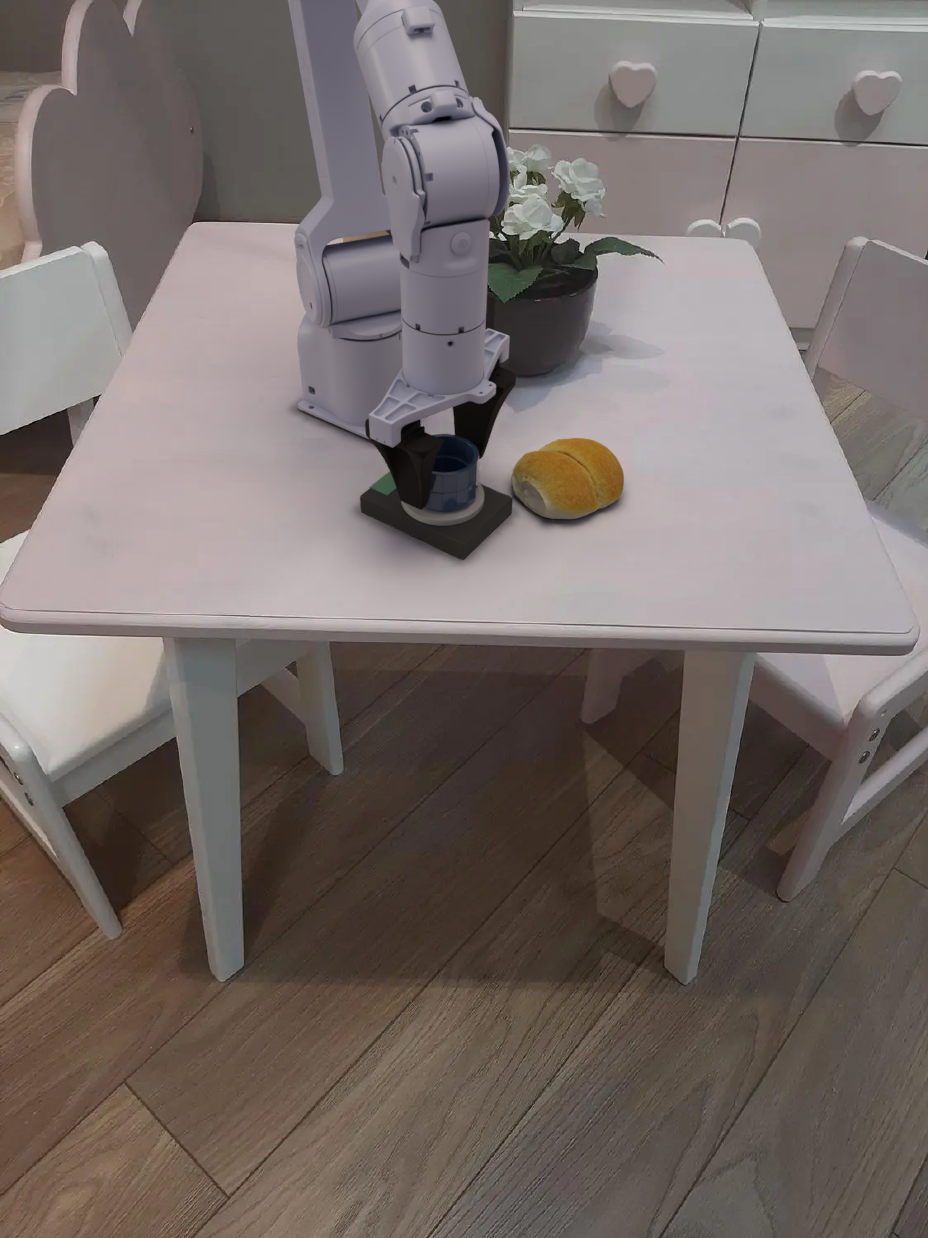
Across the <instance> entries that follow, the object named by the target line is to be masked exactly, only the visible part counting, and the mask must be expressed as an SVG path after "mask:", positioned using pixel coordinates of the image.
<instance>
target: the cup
mask: <svg viewBox="0 0 928 1238" xmlns="http://www.w3.org/2000/svg"><path fill="white" fill-rule="evenodd" d="M432 435H433V436H435V437H437V438H440V439H442V440H444V443H443V444H442V446H441V448H440V449H439V451H438V454H437V456H436V459H435V462H434V465H433V470H432V475H431V486H430V496H429V500H428V503H427V505H426V506H425V508H427V509H429V510H433V511H438V512H450V511H455V510H458V509H461V508H463V507H465V506H467V505H468V504H469V503H471V502H472V501H473V500H474V499H475V497H476V495H477V492H478V482H479V476H480V475H479V473H480V460H479V452H478V449H477V447H476V446H475V445H474V444H473V443H472V442H471V441H470V440H468V439H465V438H463V437H461V436H458V435H455V434H450V433H437V434H432Z"/></svg>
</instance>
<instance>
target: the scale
mask: <svg viewBox="0 0 928 1238" xmlns="http://www.w3.org/2000/svg"><path fill="white" fill-rule="evenodd" d="M513 500H514V498H513V497H512V496H510V495H507V494H505V493H502V492H500V491H498V490H496V489H493V488H491V487H489V486H486V485H484V484H481V482H480V481H478V492H477V495H476V497H475V499H474V500H473V501H472V502H471V503H469V504H468V505H467V506H465V507H463V508H461V509H458V510H455V511H450V512H438V511H433V510H429V509H427V508H425V507H424V508H423V509H421V510H420V509H417V508H415V507H413V506H411V505H409V504H407V503H404V502H402V501H401V500H400V497H399V494H398V491H397V488H396V485H395V483H394V480H393V477H392V475H391V472H390V470H389V471H388V472H387V473H386V474H384V475H383V476H382V477H380V478H379V479H378V480H376V481H375V482H374V483H372V485H370V486H369V488H368V489H367V490H365V492H363V493H362V494H360V495H359V502H360V503H359V504H360V512H361V513H364V514H365V515H367V516H370V517H372V518H373V519H376V520H379V521H380V522H382V523H385V524H386V525H389V526H391V527H392V528H395V529H397V530H399V531H401V532H403V533H405V534H407V535H410V536H411V537H414V538H416V539H418V540H420V541H422V542H424V543H427V544H428V545H431V546H432V547H435V548H437V549H440V550H441V551H443V552H446V553H448V554H449V555H451V556H454V557H456V558H458V559H461V560H465V558H466V557H468V556H469V555H470V554H471V553H472V552H473V551H474V550H475V549H476V548H477V547H478V546H479V545H480V544H481V543H482V542H483V541H484V540H485V539H487V538H488V536H489V535H490V534H491V533H493V532H494V531H495V530H496V528H498V527H499V526H500V525H501V524H502V523H503V522H504V521H505V520H506V519H507V518H508V517H509V516H511V515H512V513H513V502H514V501H513Z"/></svg>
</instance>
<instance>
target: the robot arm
mask: <svg viewBox="0 0 928 1238" xmlns="http://www.w3.org/2000/svg"><path fill="white" fill-rule="evenodd" d="M287 4H288V9H289V16H290V20H291V26H292V27H291V28H292V32H293V33H292V34H293V38H294V43H295V50H296V56H297V61H298V67H299V73H300V78H301V84H302V89H303V96H304V102H305V108H306V113H307V119H308V124H309V125H308V126H309V131H310V137H311V142H312V149H313V154H314V158H315V159H314V160H315V166H316V171H317V178H318V183H319V189H320V194H321V197H320V199H319V200H318V201H317V203H316V204H315V205H314V206H313V207H312V209H311V210H310V211H309V212H308V213H307V214H306V216H305V217H304V218H303V219H302V220H301V221H300V222H299V224H298V225H297V227H296V229H295V231H294V237H293V242H294V250H295V255H296V256H295V257H296V263H295V264H296V265H295V266H296V267H295V269H296V280H297V286H298V287H297V288H298V291H299V295H300V299H301V302H302V306H303V308H304V311H305V314H304V316H303V318H302V319H301V322H300V324H299V328H298V332H297V338H296V339H297V340H296V345H297V354H298V363H299V371H300V380H301V381H300V382H301V389H302V400H300V401H298V403H297V408H298V410H300V411H303V412H305V413H307V414H310V415H311V416H314V417H316V418H319V419H321V420H323V421H325V422H328V423H330V424H332V425H335V426H337V427H340V428H342V429H344V430H346V431H347V432H348V431H349V432H351V433H353V434H355V435H358V436H360V437H362V438H365V439H366V440H368V441H370V442H371V443H372V444H373V446H374V447H375V449H376V450H377V451H378V452H379V454H380V455H381V457H382V458H383V460H384V462H385V464H386V466H387V468H388V470H389V471H390V472H391V475H392V477H393V480H394V483H395V485H396V488H397V491H398V494H399V497H400V500H401V501H402V502H404V503H407V504H409V505H411V506H413V507H415V508H417V509H420V510H421V509H423V508H424V507H425V506H426V505H427V503H428V500H429V496H430V486H431V475H432V470H433V465H434V462H435V459H436V456H437V454H438V451H439V449H440V448H441V446H442V444H443V443H444V440H442V439H440V438H437V437H435V436H433V435H434V434H430V433H428V432H426V427H425V425H421V423H422V422H421V420H422V419H425V418H428V417H430V416H433V415H435V414H438V413H440V412H444V411H446V410H448V409H449V410H450V409H452V411H453V412H452V413H453V414H452V415H453V427H454V428H453V432H454V435H458V436H461V437H463V438H465V439H468V440H470V441H471V442H472V443H473V444H474V445H475V446H476V447H477V449H478V452H479V461H481V459H483V457H484V455H485V453H486V449H487V447H488V443H489V441H490V438H491V434H492V431H493V428H494V426H495V423H496V420H497V417H498V415H499V413H500V411H501V409H502V407H503V405H504V402H505V401H506V400H507V398H508V396H509V395H510V394H511V392H512V391H513V389H514V388H515V386H516V384H517V383H516V382H517V375H516V373H514V371H513V370H510V369H507V368H505V367H503V366H500V364H504V363H505V362H506V361H507V360H508V359H509V358H510V357H509V356H510V340H511V336H510V335H508V334H506V333H503V332H500V331H497V330H495V329H492V328H489V327H487V326H486V325H487V305H488V304H487V303H488V278H489V256H490V231H491V221H490V220H489V219H488V218H490V217H491V216H492V217H496V216H499V215H500V214H501V213H502V212H503V211H504V210H505V208H506V206H507V202H508V200H509V195H510V188H511V186H510V185H511V170H510V169H511V167H510V159H509V158H510V157H509V153H508V149H507V144H506V140H505V137H504V133H503V129H502V127H501V125H500V123H499V121H498V120H497V118H496V117H495V116H494V115H493V114H492V113H490V111H487V109H486V107H485V106H484V103H483V100H482V99H480V98H479V97H478V96H476V97H473V96H471V95H470V93H469V90H468V87H467V84H466V80H465V78H464V75H463V71H462V69H461V66H460V62H459V60H458V56H457V54H456V50H455V47H454V44H453V41H452V38H451V35H450V32H449V29H448V25H447V23H446V19H445V16H444V14H443V10H442V9H441V7H440V6H439V5H438V3H437V2H436V1H434V0H287ZM356 5H357V7H358V9H359V11H360V13H361V17H360V18H359V21H358V13H357V7H356ZM370 102H371V103H370ZM371 104H372V105H371ZM371 106H372V108H373V112H374V114H375V117H376V121H377V123H378V126H379V129H380V132H381V135H382V139H383V142H384V145H383V150H382V159H381V162H380V165H381V173H380V167H379V166H380V165H379V158H378V152H377V146H376V145H377V143H376V138H375V131H374V124H373V117H372V111H371ZM381 177H382V179H381ZM382 184H383V187H382ZM383 190H384V192H383ZM380 231H386V232H387V233H388V234H389V235H384V236H378V237H372V238H366V239H360V240H354V241H348V242H343V241H342V242H336V243H332V244H330V243H331V242H333V241H336V240H338V239H343V238H344V237H350V236H356V235H362V234H368V233H374V232H380ZM486 327H487V328H486Z"/></svg>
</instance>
